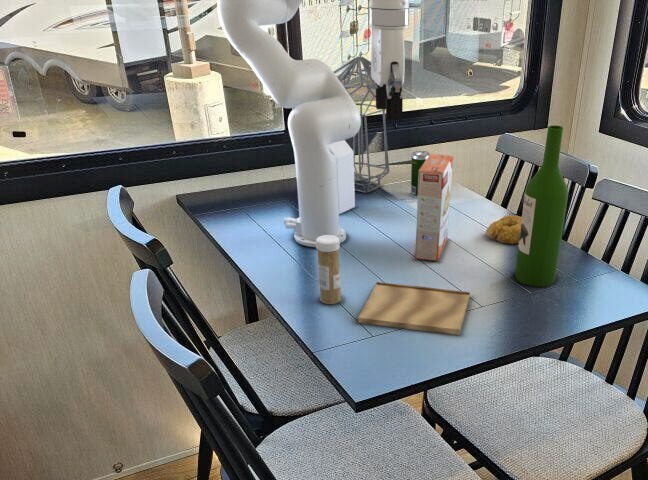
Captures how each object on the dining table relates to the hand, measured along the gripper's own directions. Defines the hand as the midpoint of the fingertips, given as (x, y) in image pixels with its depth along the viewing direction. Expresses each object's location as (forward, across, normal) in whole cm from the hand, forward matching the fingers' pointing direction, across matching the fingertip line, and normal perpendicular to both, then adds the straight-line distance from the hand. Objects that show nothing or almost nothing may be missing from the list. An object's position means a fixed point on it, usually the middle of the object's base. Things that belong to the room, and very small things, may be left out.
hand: (388, 114), depth 138 cm
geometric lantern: (+33, -55, +4) cm, 64 cm away
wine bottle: (+33, +13, +31) cm, 47 cm away
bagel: (+33, -10, +33) cm, 48 cm away
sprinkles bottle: (+33, +14, -16) cm, 39 cm away
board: (+33, +22, +1) cm, 40 cm away
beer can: (+33, -45, +19) cm, 59 cm away
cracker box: (+33, -7, +12) cm, 36 cm away
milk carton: (+33, -39, -6) cm, 51 cm away
